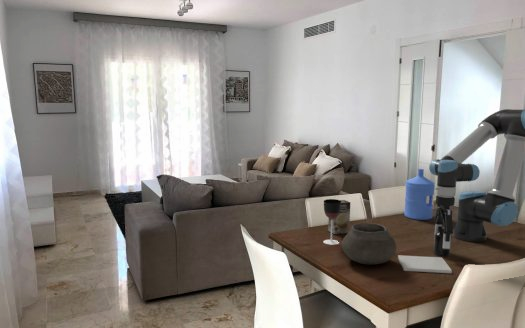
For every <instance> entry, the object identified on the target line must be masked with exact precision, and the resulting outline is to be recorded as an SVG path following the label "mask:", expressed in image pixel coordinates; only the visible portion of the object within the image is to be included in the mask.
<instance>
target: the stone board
mask: <svg viewBox="0 0 525 328" xmlns="http://www.w3.org/2000/svg"><path fill="white" fill-rule="evenodd" d="M397 259H398V261H399V264H400V265H401V268H402V270H403V271H405V272H421V273H422V272H424V273H425V272H426V273H441V274H452V273H453V271H452V269H451V268H450V266H449V264H447V262H446V261H445V259H443V257H441V256H440V257H439V256H437V257H436V256H417V255H399V254H397Z"/></svg>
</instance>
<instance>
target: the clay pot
mask: <svg viewBox="0 0 525 328" xmlns="http://www.w3.org/2000/svg"><path fill="white" fill-rule="evenodd" d="M341 249H342V251H343V253H344V254H345V255H346V256H347V257H348V259H350V260H352V261H353V262H356V263H359V264H362V265H380V264H383V263H386V262H388V261H389V260H391V259H392V258H393V257H394V256H395V254H396V252H397V243H396V241H395V239H394V238H393V236H392V235H391V234H390V232H389V230H388V229H387V227H386V226H385V225H382V224H379V223H374V222H358V223H355V224H352V226H351V228H350V229H349V233H346V235H345V236H344V237H343V239H342V242H341Z"/></svg>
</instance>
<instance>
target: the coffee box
mask: <svg viewBox="0 0 525 328" xmlns="http://www.w3.org/2000/svg"><path fill="white" fill-rule="evenodd" d="M340 201H341V208H340V213H339V215H338V216H337V217H336V218H334V219H333V227H332V233H333V234H332V235H339V234H340V233H341V234H348V233H349V232H350V226H351V225H350V224H351V223H350V222H351V219H350V218H351V202H350V201H348V200H346V199H343V200H342V199H341V200H340ZM327 222H328V225H327V232H329V233H331V219H330V218H328V221H327ZM341 234H340V235H341Z"/></svg>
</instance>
